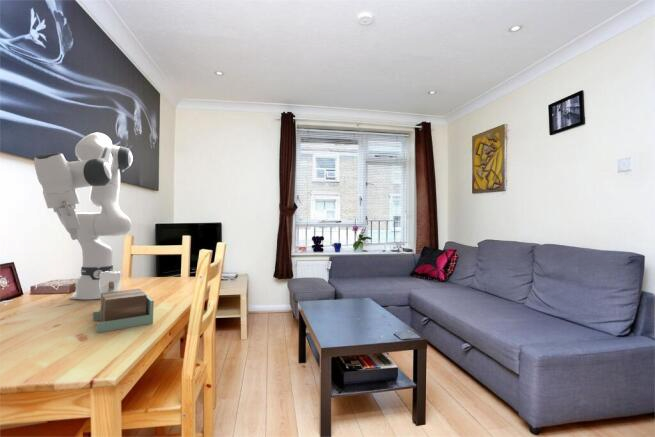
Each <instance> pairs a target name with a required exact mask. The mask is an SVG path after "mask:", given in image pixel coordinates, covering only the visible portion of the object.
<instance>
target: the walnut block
mask: <svg viewBox="0 0 655 437" xmlns="http://www.w3.org/2000/svg"><path fill="white" fill-rule="evenodd" d="M144 292H145V291H142V289H140V288H136V289H126V290H119V291H115V292H106V293H101V298H100V306H101V312H100V320H99V321H100V322H105V321H111V320H117V319H124V318H130V317H137V316H143V315H146V300H147V295H148V294H147V293H146V292H145V293H146V294H147V295H146V294H145V293H144Z"/></svg>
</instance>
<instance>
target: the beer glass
mask: <svg viewBox="0 0 655 437" xmlns="http://www.w3.org/2000/svg"><path fill="white" fill-rule="evenodd" d="M120 287H121V271H118V270H113V271H106V272H101V273H100V280H99V289H100V295H101V293H106V292H115V291H120V289H121V288H120ZM99 311H101V305H100V307H99Z"/></svg>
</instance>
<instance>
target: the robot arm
mask: <svg viewBox="0 0 655 437" xmlns="http://www.w3.org/2000/svg"><path fill="white" fill-rule="evenodd" d="M74 153H75V157H76V161H68V160H66V158H65V156H64V154H63V153H61V152H58V151H57V152H55V151H54V152H47V153H41V154H38V155H36V156H35V157H34V163H33V164H34V170H35V174H36V177H37V180H38V182H39V185H41V187H42V195H43V199H44V201H45V204H46V207H47V209H52V210H53V213H56V215H57V217H58V219H59V221H60V223H61V224H62V225H63V227H64V229H65V230H66V232H67V233H68V234H69V236H70V239H71V240H73V241H75V240H77V242H78V243H79V245H80V247H81V251H82V266H81V269H80V275H81V276H79V278H78V279H77V280H76V281H75V283H74V288H75V291H74V293H73V294H72V295H71V296H70V297H69V298H70V300H99V299H100V300H101V295H100V289H99V280H100V273H101V272H106V271H114V265H113V249H112V247H110V246H109V245H107V244H106V243H103V242H102V241H101V239H100V237H118V236H125V235H127V234H128V233H129V232H130V230H131V228H132V222H131V219H130V218H129V217H128V215H126V214H125V213H124V212H123V211H122V210H121V209H120V204H119V194H120V189H121V188H120V186H121V173H124V172H125V170H128V169H129V168H130V167H131V166H132V163H133V158H134V157H133V154H132V151H131V149H129V148H128V147H125V146H118V145H114V144H113V142H112V140H111V138H110V137H109V136H108V135H106V134H104V133H102V132H93V133H90V134H87V135H86V136H85V137H83V138H81V139H80V140H79V141H78V143H76V145H75V149H74ZM82 188H83V189H84V188H90V192H89V201H90V202H91V204H93V205H94V206H96V207H98V208H100V209H101V210H100V212H85V211H84V212H83V211H82V212H76V210H77V209H78V207H77V205H78V204H81V200H80V197H79V195H78V194H79V193H78V190H77V189H82Z"/></svg>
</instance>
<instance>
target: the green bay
mask: <svg viewBox="0 0 655 437" xmlns="http://www.w3.org/2000/svg"><path fill="white" fill-rule="evenodd" d="M143 292H144V293H145V294H146V295H147V300H146V315H143V316H137V317H130V318H124V319H117V320H111V321H105V322H101V321H100V312H101V311H100V310H95V311H92V321H100V322H96V333H97V334H98V333H104V332H111V331H115V330H121V329H126V328H133V327H138V326H144V325H145V326H146V325H150V324H151V325H152V324H153V323H154V299H152V298H151V297H150V295H148V294H147V293H146V292H145V291H143Z"/></svg>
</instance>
